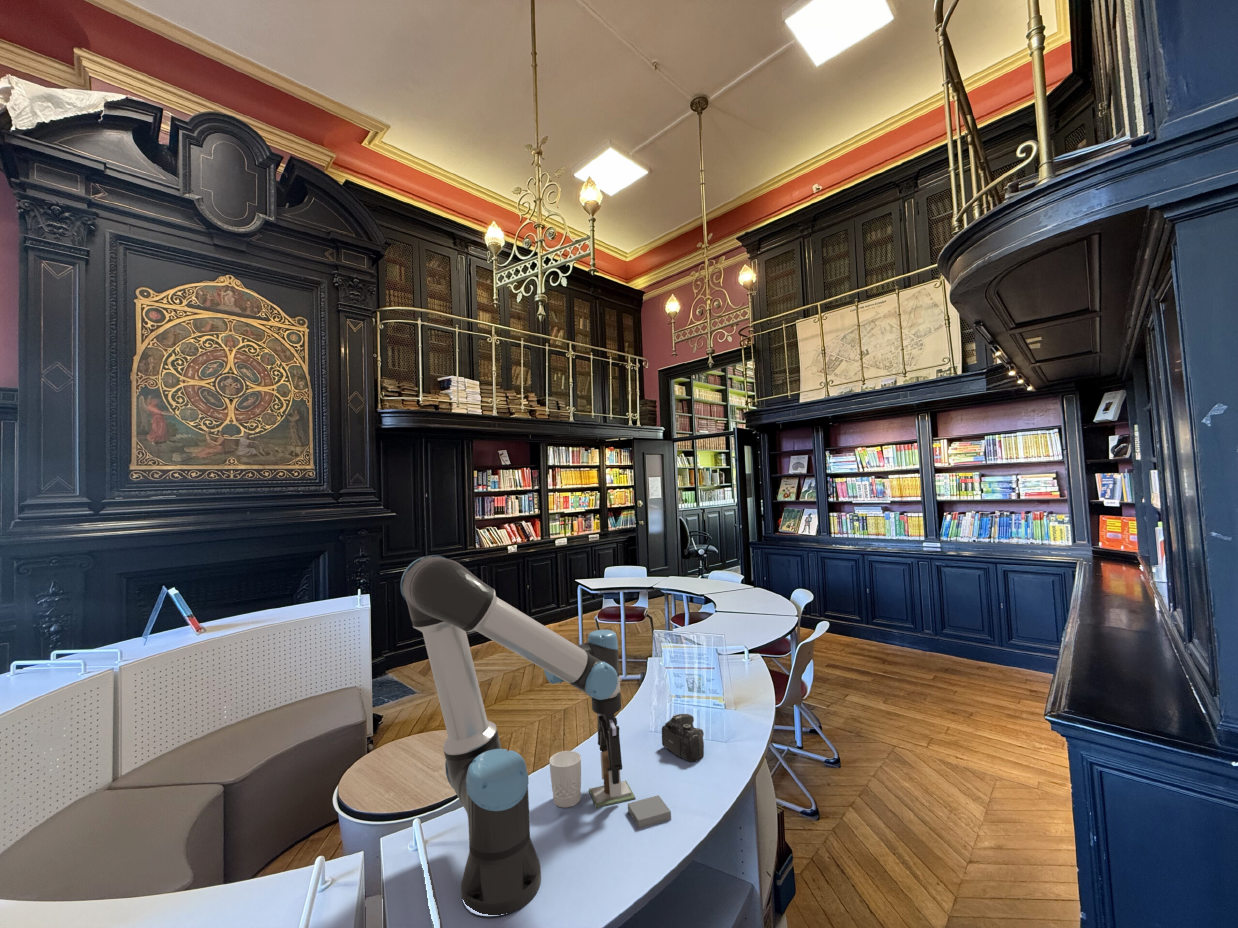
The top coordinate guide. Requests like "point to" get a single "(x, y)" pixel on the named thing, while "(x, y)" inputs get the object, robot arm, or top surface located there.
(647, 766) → the top surface
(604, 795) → the wooden handled stamp
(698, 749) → the camera
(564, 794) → the white cup
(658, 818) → the tile
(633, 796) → the pad
